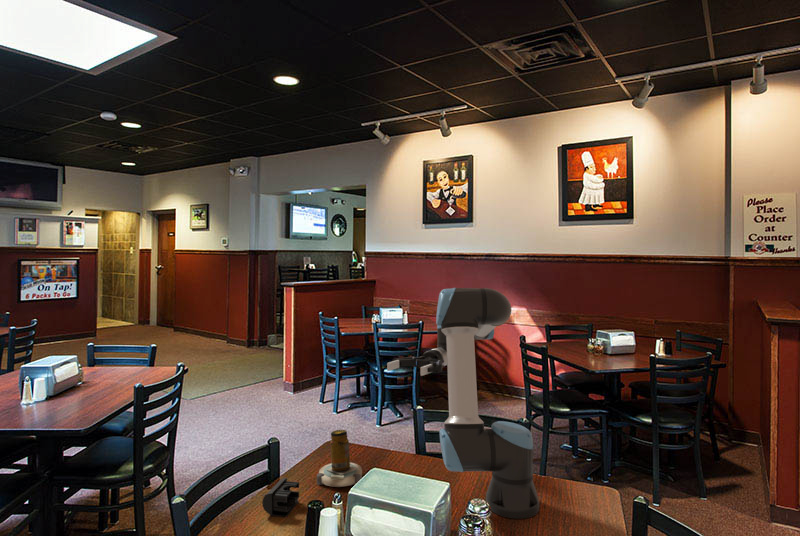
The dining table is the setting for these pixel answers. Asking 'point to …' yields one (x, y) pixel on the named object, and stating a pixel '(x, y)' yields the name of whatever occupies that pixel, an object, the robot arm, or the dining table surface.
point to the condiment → (340, 453)
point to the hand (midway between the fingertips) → (404, 369)
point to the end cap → (281, 499)
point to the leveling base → (338, 476)
